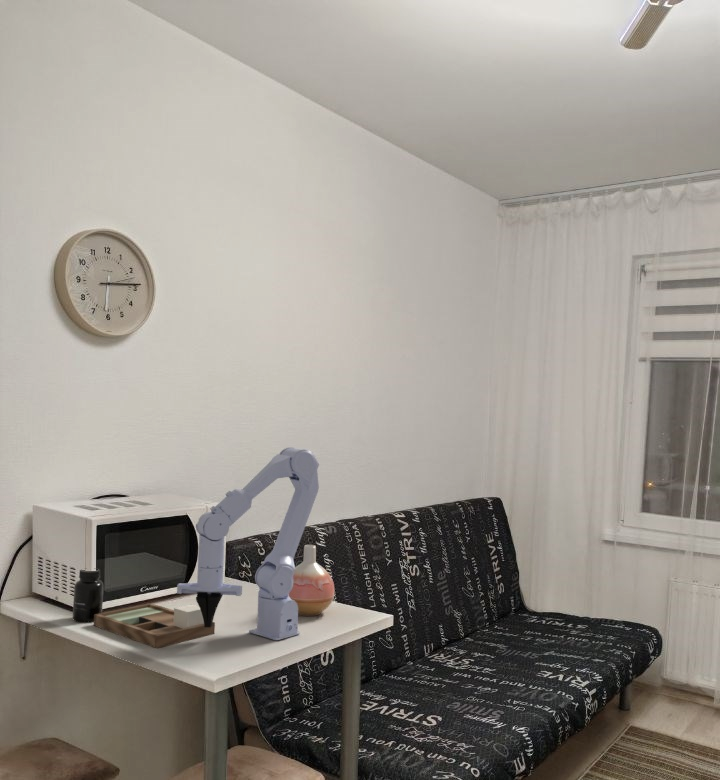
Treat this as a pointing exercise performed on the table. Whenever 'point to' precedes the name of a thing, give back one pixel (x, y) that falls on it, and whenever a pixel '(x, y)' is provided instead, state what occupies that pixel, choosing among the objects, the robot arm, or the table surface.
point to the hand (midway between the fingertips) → (208, 626)
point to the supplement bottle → (87, 596)
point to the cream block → (187, 616)
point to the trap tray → (149, 625)
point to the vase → (311, 585)
